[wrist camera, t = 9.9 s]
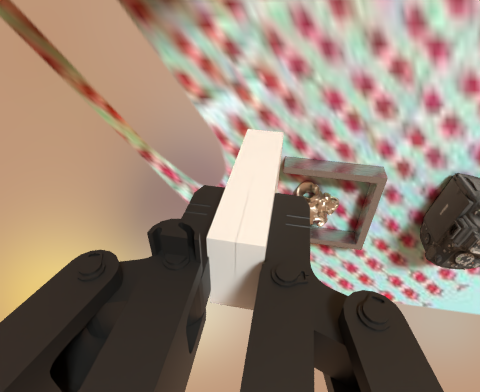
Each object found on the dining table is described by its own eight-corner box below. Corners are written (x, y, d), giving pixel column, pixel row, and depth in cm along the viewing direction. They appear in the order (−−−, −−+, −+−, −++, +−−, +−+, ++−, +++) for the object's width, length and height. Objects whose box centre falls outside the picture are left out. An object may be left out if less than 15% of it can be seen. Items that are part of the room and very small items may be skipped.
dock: (276, 226, 55) (275, 237, 52) (285, 156, 46) (284, 166, 44) (358, 237, 53) (361, 249, 50) (383, 166, 44) (387, 178, 42)
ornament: (342, 214, 51) (344, 229, 48) (301, 221, 53) (300, 235, 50) (333, 174, 47) (334, 188, 44) (289, 183, 49) (287, 196, 46)
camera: (485, 237, 48) (519, 290, 41) (414, 240, 51) (433, 290, 43) (505, 164, 41) (552, 210, 33) (422, 172, 44) (446, 217, 36)
